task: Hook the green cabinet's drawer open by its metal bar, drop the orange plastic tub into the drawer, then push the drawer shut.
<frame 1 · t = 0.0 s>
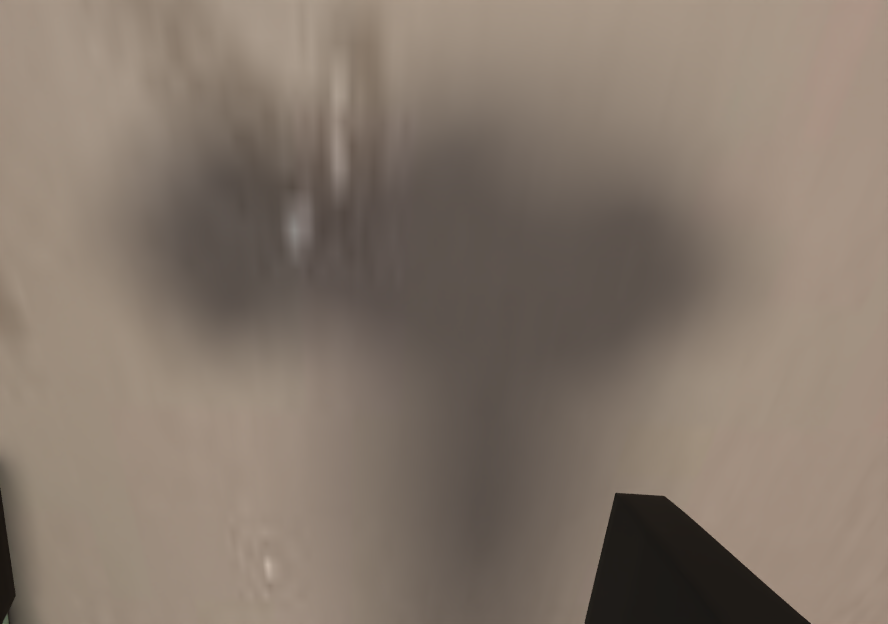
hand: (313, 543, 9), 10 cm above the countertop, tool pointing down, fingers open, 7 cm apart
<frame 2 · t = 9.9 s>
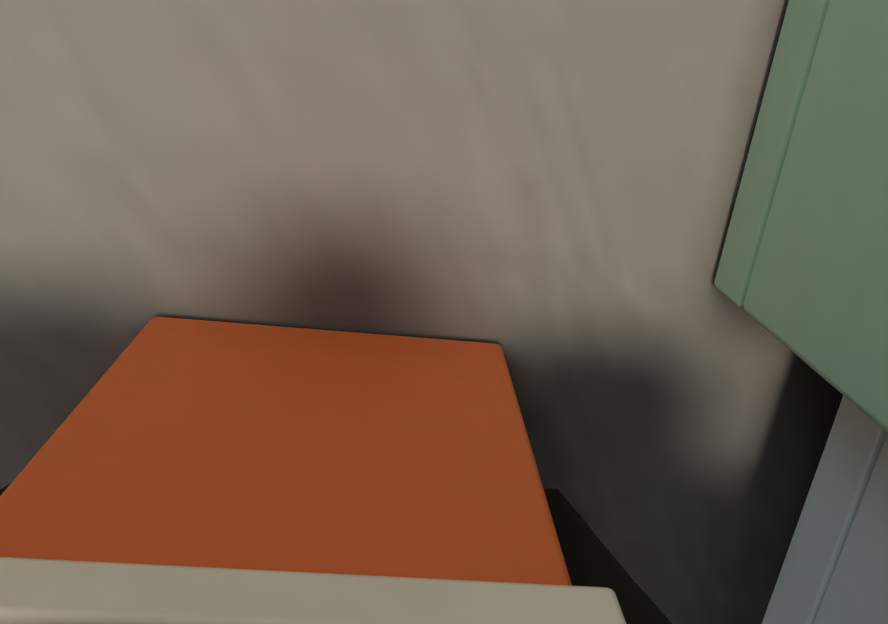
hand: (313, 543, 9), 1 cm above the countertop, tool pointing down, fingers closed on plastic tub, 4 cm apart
plastic tub: (322, 474, 10), on the countertop, touching gripper
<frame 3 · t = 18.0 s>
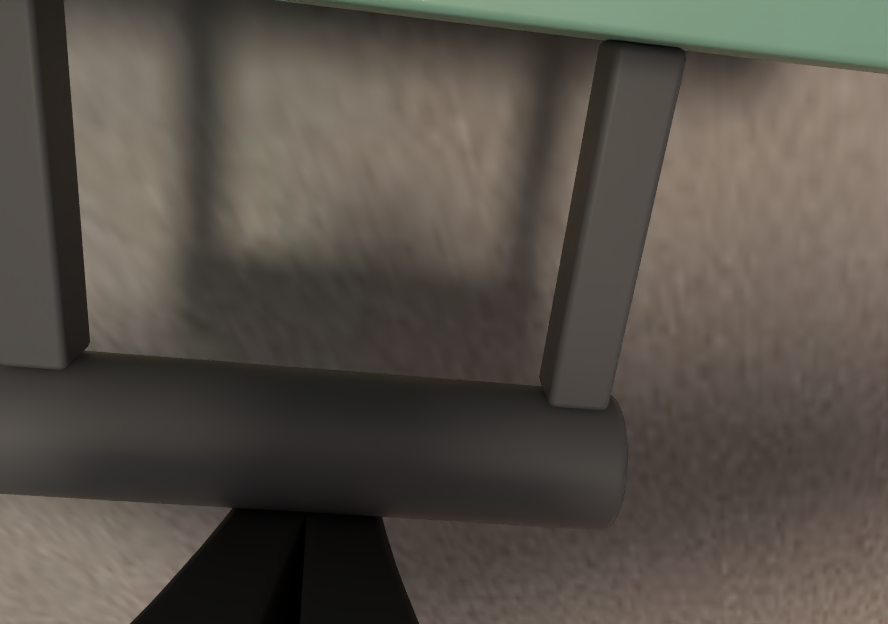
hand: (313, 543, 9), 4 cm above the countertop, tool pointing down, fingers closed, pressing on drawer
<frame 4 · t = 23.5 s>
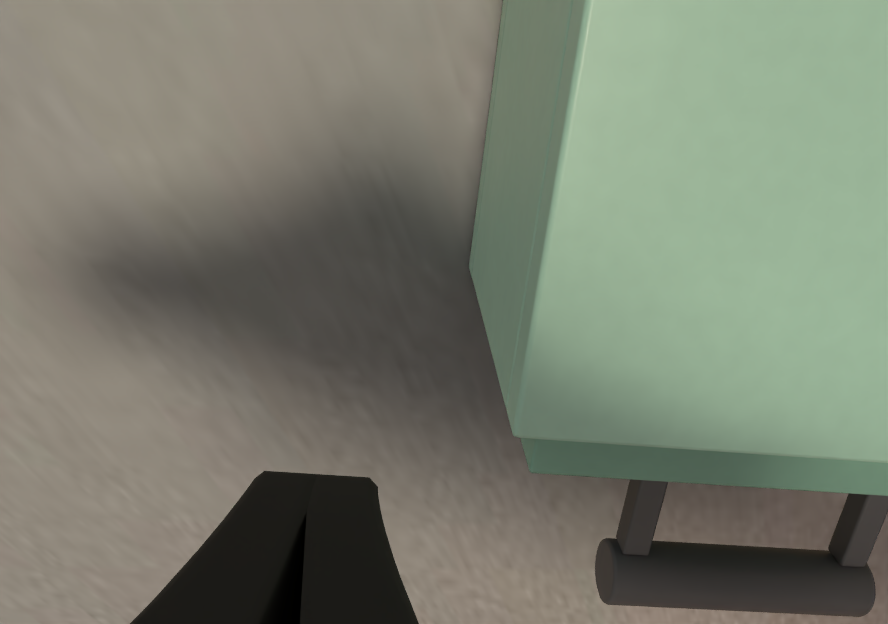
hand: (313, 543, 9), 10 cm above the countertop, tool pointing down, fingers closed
drawer: (818, 232, 14), point 4 cm above the countertop, slide at 0.0 cm, touching plastic tub
green cabinet: (777, 11, 16), on the countertop
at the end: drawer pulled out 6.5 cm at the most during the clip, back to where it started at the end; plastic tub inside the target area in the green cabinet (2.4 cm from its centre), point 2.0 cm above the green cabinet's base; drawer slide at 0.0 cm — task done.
